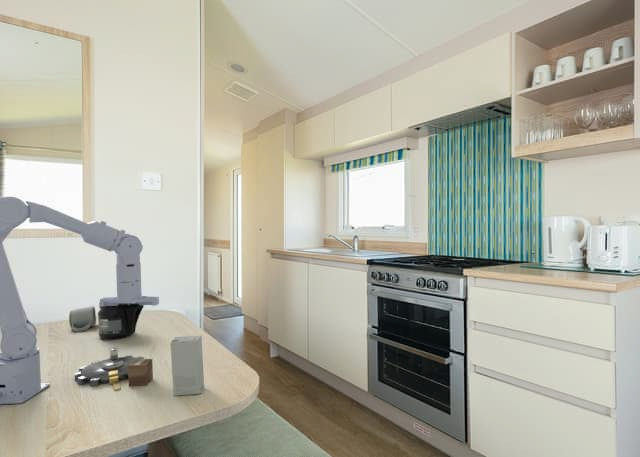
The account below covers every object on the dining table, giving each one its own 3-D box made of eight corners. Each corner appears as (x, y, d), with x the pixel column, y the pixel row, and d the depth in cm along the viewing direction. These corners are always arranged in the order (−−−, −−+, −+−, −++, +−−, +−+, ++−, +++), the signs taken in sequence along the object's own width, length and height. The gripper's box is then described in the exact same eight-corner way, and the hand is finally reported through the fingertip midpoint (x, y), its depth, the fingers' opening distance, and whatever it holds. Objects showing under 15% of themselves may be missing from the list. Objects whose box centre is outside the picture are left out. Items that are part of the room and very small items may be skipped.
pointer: (120, 389, 90) (120, 388, 90) (114, 390, 89) (114, 389, 89) (118, 384, 93) (118, 382, 93) (113, 385, 92) (113, 384, 92)
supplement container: (134, 330, 140) (133, 296, 139) (132, 338, 130) (131, 302, 130) (101, 333, 136) (100, 299, 135) (96, 342, 126) (94, 305, 126)
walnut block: (146, 386, 92) (145, 364, 91) (128, 386, 91) (128, 365, 91) (152, 379, 96) (152, 358, 95) (136, 379, 96) (135, 358, 95)
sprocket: (161, 367, 103) (161, 350, 103) (99, 391, 89) (98, 371, 89) (124, 357, 111) (123, 341, 111) (61, 377, 97) (61, 359, 97)
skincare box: (204, 386, 90) (203, 334, 90) (200, 395, 86) (199, 340, 86) (177, 388, 90) (175, 335, 90) (171, 397, 85) (170, 341, 85)
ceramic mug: (72, 326, 146) (71, 306, 146) (96, 323, 150) (95, 304, 149) (67, 333, 137) (66, 312, 137) (93, 330, 140) (92, 310, 140)
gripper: (163, 278, 106) (164, 328, 106) (109, 279, 106) (111, 329, 106) (151, 282, 98) (153, 336, 99) (94, 283, 99) (96, 337, 99)
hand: (130, 333), depth 102 cm, fingers closed
